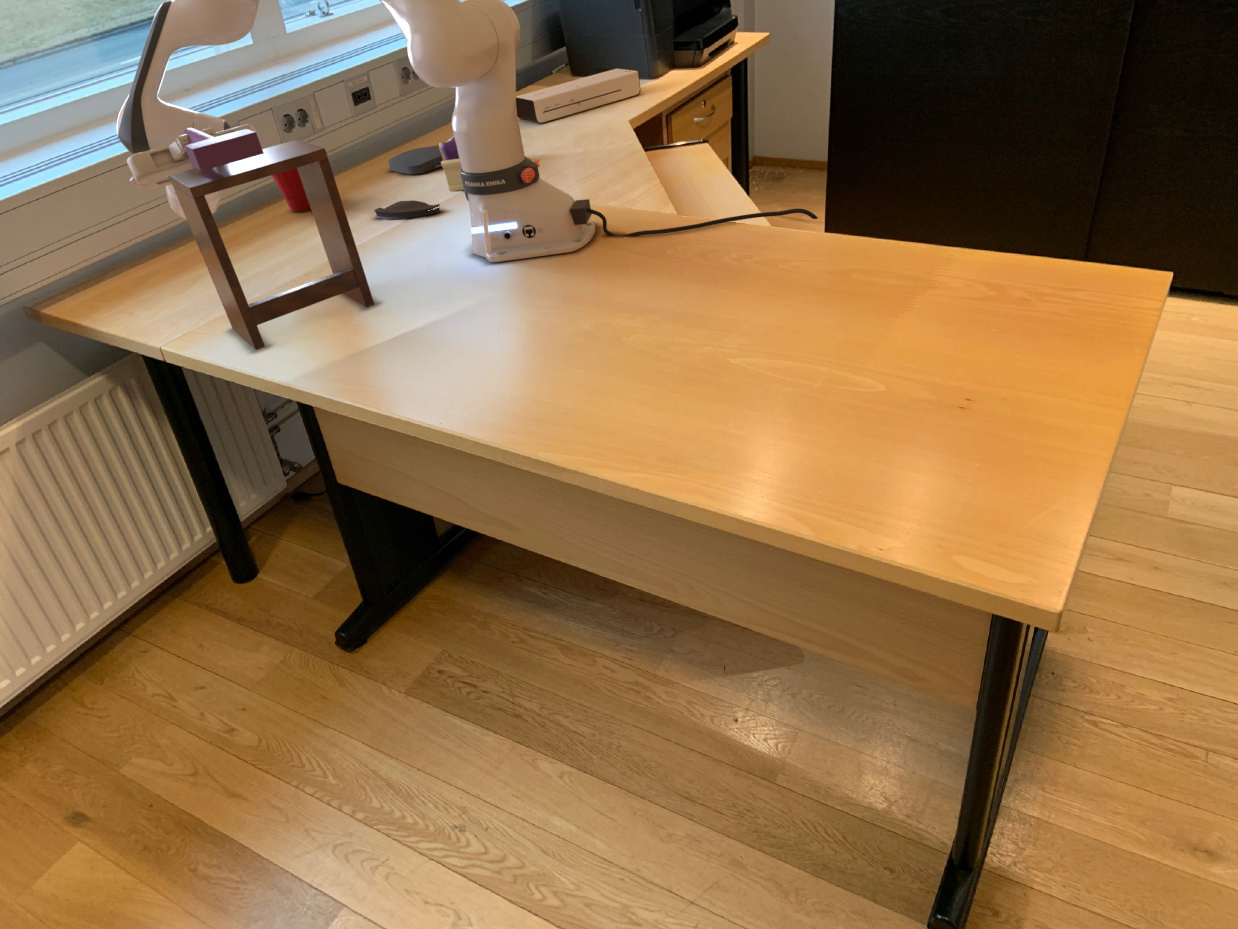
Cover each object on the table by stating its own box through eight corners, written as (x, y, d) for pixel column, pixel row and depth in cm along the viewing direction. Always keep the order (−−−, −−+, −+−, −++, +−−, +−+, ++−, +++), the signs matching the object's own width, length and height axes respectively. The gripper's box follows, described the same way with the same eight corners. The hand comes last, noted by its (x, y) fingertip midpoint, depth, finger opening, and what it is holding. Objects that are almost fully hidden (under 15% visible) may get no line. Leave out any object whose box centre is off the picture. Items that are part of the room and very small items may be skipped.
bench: (346, 287, 153) (297, 139, 139) (374, 304, 145) (325, 148, 131) (233, 329, 144) (168, 175, 131) (256, 350, 136) (189, 187, 122)
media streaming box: (384, 170, 219) (381, 158, 217) (434, 153, 226) (431, 141, 224) (415, 177, 209) (411, 164, 207) (466, 159, 216) (463, 146, 215)
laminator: (537, 125, 236) (532, 100, 233) (515, 120, 245) (511, 96, 242) (641, 94, 249) (638, 70, 246) (617, 90, 259) (614, 67, 255)
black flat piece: (420, 222, 179) (418, 214, 178) (374, 218, 186) (372, 210, 185) (448, 208, 184) (446, 200, 183) (402, 204, 191) (400, 197, 190)
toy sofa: (484, 189, 192) (473, 140, 186) (447, 192, 194) (435, 144, 189) (512, 160, 209) (503, 115, 203) (477, 164, 211) (467, 119, 205)
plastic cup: (269, 215, 199) (249, 161, 193) (303, 199, 207) (285, 146, 200) (303, 217, 194) (284, 161, 188) (337, 200, 202) (320, 146, 195)
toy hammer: (165, 152, 137) (157, 132, 136) (223, 137, 141) (215, 117, 140) (201, 171, 123) (192, 149, 121) (263, 153, 127) (256, 131, 125)
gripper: (121, 170, 143) (116, 134, 131) (244, 137, 152) (251, 100, 140) (140, 207, 144) (137, 175, 131) (262, 171, 153) (270, 138, 141)
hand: (197, 136), depth 136 cm, fingers closed on toy hammer, 2 cm apart
